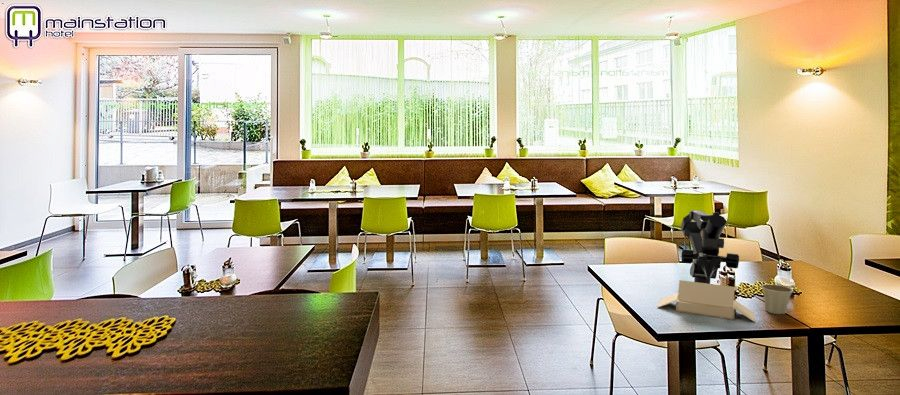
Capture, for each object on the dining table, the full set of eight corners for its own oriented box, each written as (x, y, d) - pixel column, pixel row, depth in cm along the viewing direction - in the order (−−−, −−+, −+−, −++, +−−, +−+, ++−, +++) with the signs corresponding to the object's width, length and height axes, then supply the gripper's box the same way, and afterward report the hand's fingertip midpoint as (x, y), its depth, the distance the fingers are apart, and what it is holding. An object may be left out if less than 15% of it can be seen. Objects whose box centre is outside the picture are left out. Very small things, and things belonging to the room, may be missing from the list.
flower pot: (796, 317, 179) (798, 292, 178) (765, 315, 181) (767, 290, 180) (784, 308, 188) (786, 285, 187) (755, 306, 190) (757, 283, 189)
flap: (677, 300, 183) (679, 280, 184) (733, 308, 175) (734, 286, 176) (677, 300, 182) (679, 280, 183) (733, 308, 175) (734, 286, 175)
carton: (661, 296, 200) (662, 287, 200) (753, 309, 186) (753, 299, 186) (657, 308, 187) (657, 297, 186) (755, 322, 173) (756, 311, 172)
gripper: (683, 227, 195) (679, 262, 186) (740, 231, 186) (739, 268, 177) (683, 244, 202) (679, 279, 194) (738, 250, 194) (737, 286, 185)
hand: (708, 278), depth 187 cm, fingers closed
